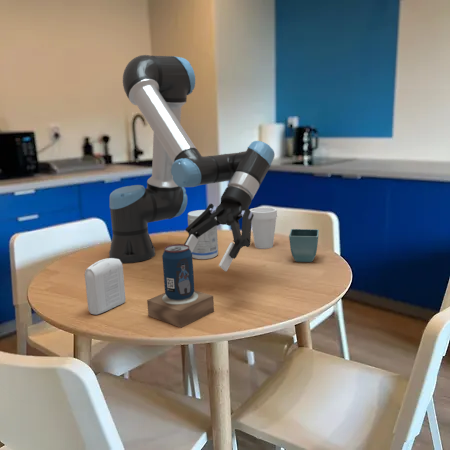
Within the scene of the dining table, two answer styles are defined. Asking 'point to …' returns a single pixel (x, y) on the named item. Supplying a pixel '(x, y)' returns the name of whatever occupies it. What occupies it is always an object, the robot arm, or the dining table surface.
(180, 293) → the soda can
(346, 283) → the dining table surface
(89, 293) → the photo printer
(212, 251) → the supplement tub
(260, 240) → the foam cup
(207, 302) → the plinth
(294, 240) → the flower pot
